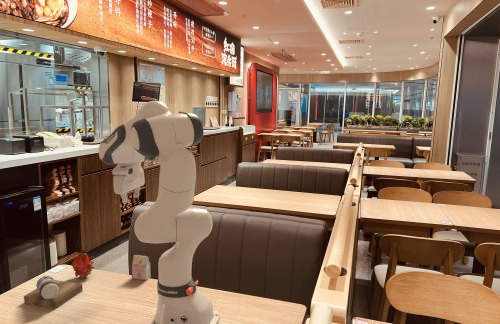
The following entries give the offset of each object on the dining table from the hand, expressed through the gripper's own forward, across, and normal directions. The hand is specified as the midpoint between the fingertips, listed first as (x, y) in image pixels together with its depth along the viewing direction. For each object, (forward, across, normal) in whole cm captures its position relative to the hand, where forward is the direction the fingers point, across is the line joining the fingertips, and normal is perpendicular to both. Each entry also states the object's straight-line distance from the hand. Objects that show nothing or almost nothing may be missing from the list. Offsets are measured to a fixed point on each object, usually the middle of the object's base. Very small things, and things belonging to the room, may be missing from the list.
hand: (130, 200), depth 155 cm
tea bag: (+34, 0, +4) cm, 35 cm away
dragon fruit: (+34, +5, -20) cm, 40 cm away
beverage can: (+28, +30, -15) cm, 44 cm away
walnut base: (+35, +22, -21) cm, 46 cm away
